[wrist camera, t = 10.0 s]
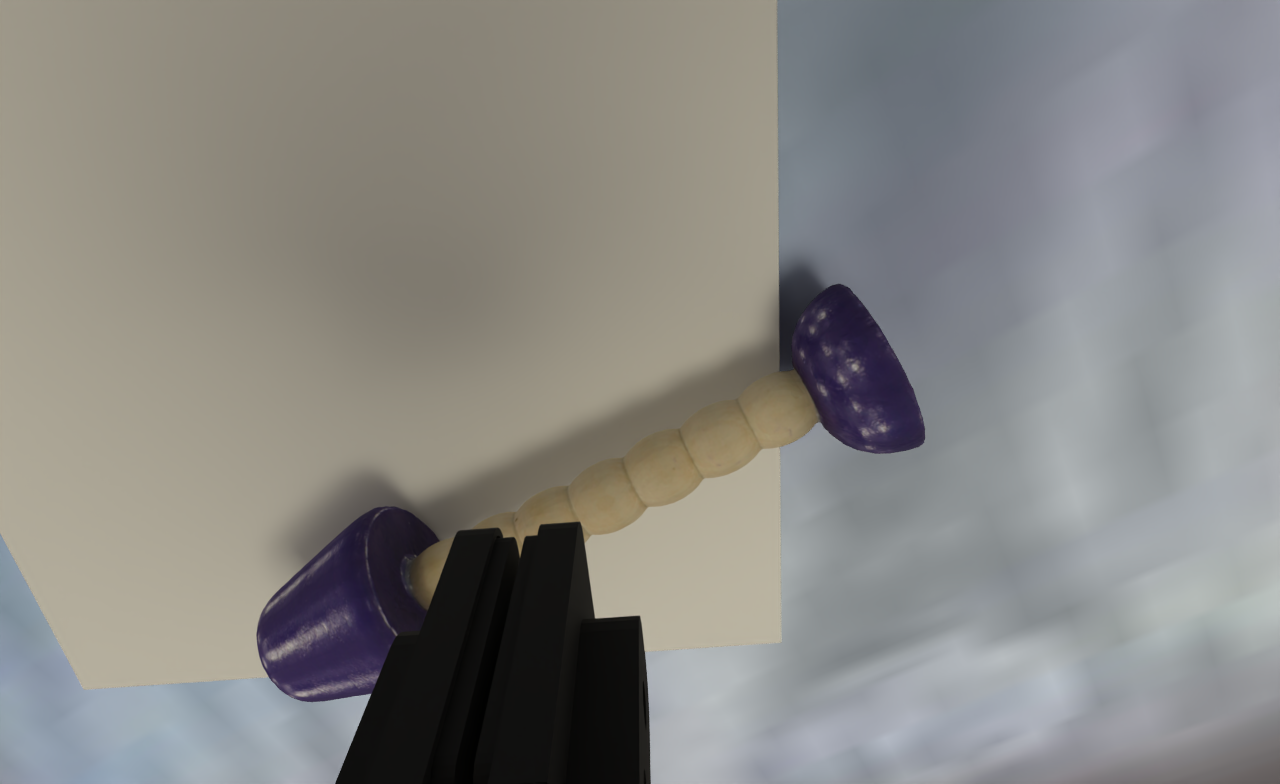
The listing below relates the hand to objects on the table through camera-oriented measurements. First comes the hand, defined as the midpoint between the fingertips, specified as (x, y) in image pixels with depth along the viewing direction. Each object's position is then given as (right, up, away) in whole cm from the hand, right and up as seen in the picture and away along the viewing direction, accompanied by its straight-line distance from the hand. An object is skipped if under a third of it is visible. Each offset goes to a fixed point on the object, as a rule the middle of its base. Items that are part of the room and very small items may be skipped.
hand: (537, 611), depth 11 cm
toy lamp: (+7, +4, +7) cm, 11 cm away
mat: (-6, +4, +9) cm, 12 cm away
